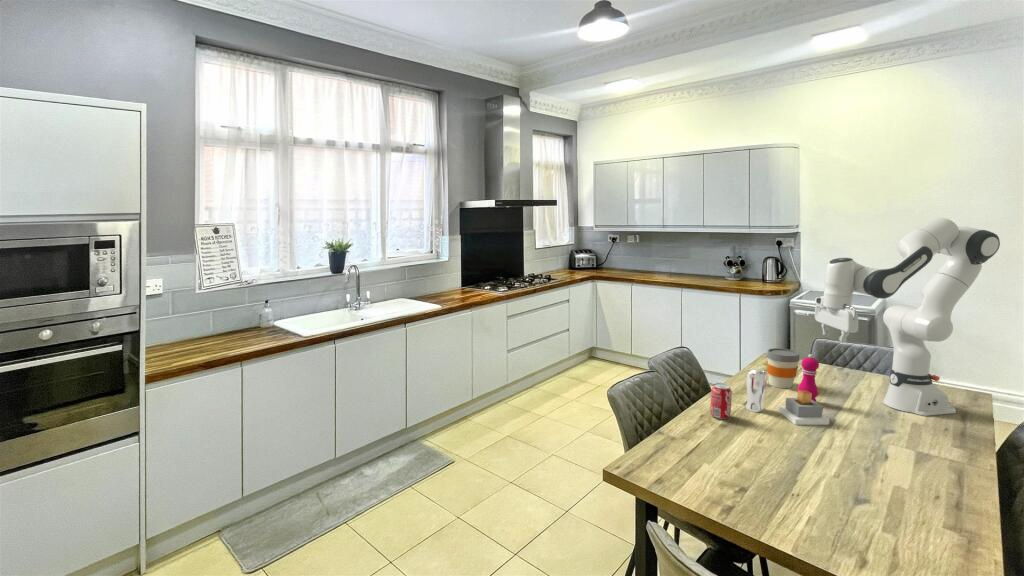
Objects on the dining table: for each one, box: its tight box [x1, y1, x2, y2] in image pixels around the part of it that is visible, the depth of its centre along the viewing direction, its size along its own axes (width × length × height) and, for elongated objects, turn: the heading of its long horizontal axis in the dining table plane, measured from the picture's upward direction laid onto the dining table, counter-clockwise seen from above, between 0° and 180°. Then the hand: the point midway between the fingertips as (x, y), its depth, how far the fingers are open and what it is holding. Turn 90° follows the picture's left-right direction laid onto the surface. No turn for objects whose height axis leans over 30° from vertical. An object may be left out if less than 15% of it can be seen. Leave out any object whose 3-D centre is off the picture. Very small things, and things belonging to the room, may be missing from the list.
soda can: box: [709, 382, 733, 420], centre depth 182 cm, size 7×7×12 cm
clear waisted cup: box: [745, 368, 768, 413], centre depth 188 cm, size 7×7×15 cm
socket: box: [777, 397, 830, 426], centre depth 181 cm, size 12×12×6 cm
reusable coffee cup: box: [766, 347, 800, 389], centre depth 215 cm, size 13×13×15 cm
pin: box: [796, 391, 812, 405], centre depth 181 cm, size 3×3×10 cm
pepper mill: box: [796, 353, 820, 403], centre depth 194 cm, size 7×7×20 cm
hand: (834, 338), depth 182 cm, fingers open, 8 cm apart
